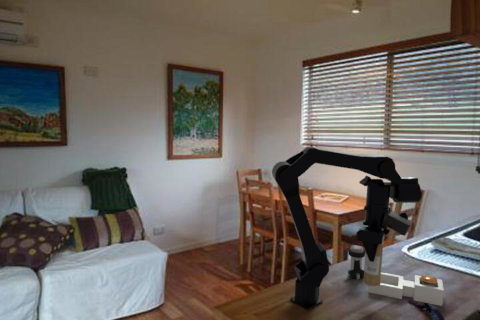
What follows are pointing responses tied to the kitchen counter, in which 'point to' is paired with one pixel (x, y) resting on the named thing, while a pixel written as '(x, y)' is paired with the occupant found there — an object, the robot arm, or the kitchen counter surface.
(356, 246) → the push button
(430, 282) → the copper and black cylinder
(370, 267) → the sprinkles bottle
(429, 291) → the housing
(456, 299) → the kitchen counter surface
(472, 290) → the kitchen counter surface
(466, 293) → the kitchen counter surface
